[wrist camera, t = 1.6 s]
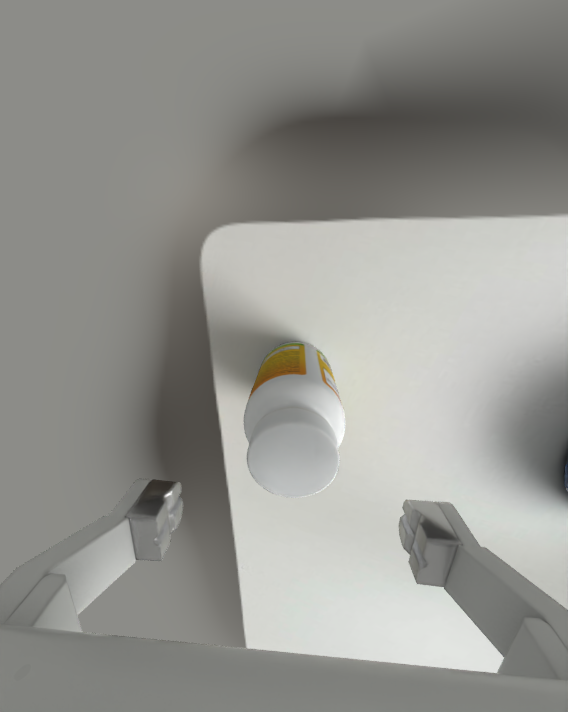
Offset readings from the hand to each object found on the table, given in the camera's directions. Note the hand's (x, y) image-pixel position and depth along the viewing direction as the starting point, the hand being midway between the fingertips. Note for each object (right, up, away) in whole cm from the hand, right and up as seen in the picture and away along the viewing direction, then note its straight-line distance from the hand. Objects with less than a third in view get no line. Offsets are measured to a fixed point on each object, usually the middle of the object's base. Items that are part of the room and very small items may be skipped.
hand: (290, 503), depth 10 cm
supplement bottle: (+1, +4, +11) cm, 12 cm away
